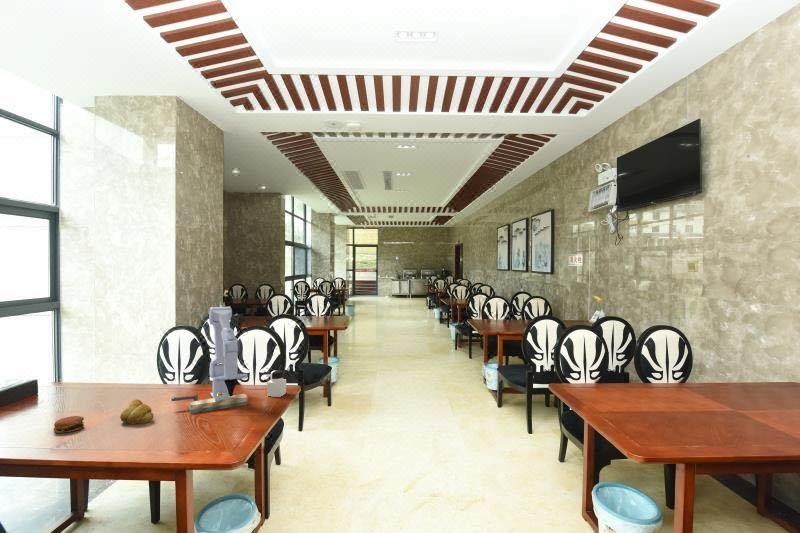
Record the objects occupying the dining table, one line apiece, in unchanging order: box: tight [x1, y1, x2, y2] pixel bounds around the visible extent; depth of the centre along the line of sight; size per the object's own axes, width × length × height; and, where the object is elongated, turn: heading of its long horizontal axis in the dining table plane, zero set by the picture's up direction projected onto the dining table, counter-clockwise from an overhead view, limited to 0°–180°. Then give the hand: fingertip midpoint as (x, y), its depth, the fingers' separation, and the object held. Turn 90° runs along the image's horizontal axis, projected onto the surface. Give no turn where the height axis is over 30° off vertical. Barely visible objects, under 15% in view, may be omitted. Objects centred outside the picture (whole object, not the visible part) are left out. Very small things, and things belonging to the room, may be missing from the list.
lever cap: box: [212, 392, 229, 401], centre depth 193 cm, size 5×6×3 cm
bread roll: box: [119, 399, 154, 425], centre depth 173 cm, size 13×10×8 cm
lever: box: [171, 394, 199, 402], centre depth 189 cm, size 10×2×5 cm, turn 115°
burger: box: [53, 415, 85, 434], centre depth 164 cm, size 10×9×5 cm
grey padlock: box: [266, 369, 287, 398], centre depth 212 cm, size 7×7×12 cm
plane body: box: [188, 393, 249, 414], centre depth 192 cm, size 24×7×4 cm, turn 123°
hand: (230, 395), depth 195 cm, fingers closed
